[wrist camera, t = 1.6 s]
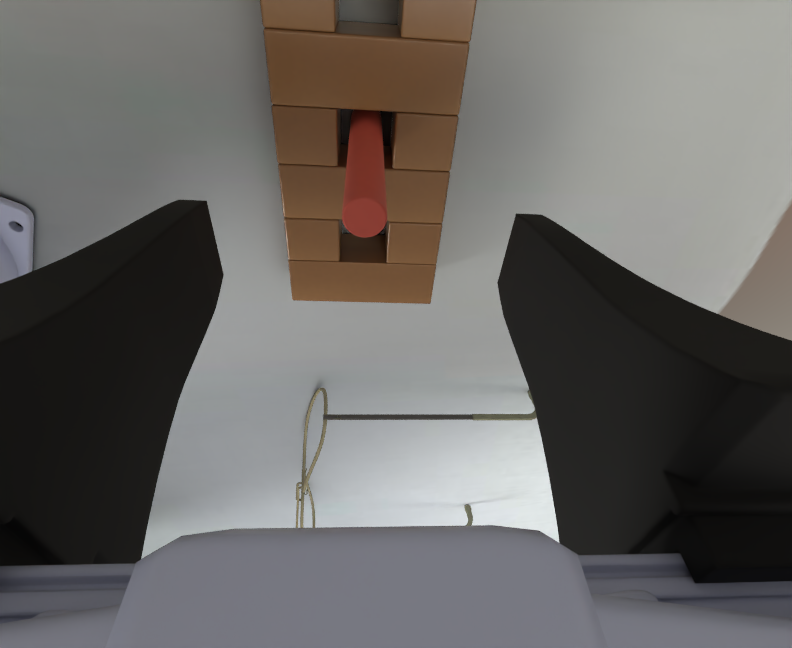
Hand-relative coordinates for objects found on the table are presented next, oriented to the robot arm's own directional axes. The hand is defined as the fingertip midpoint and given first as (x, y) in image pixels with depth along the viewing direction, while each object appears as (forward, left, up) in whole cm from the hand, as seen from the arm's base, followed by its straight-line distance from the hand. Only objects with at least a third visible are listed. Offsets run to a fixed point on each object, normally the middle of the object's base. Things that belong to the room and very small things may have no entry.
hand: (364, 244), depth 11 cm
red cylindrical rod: (0, 0, -9) cm, 9 cm away
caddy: (0, 0, -9) cm, 9 cm away
